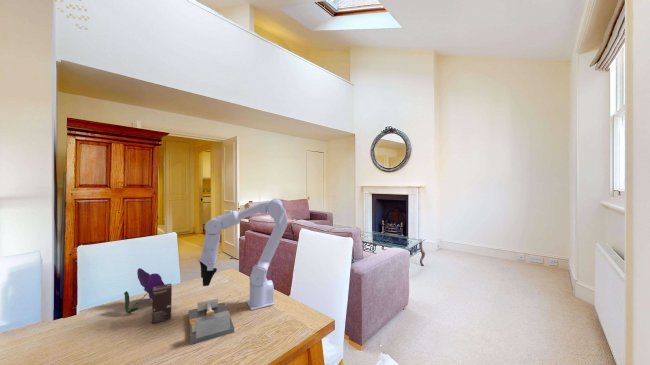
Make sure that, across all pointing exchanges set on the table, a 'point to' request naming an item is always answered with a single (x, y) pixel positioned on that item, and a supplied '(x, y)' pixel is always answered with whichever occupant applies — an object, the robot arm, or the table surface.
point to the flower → (147, 283)
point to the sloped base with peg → (210, 323)
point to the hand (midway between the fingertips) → (204, 281)
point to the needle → (206, 315)
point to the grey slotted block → (207, 304)
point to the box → (161, 302)
